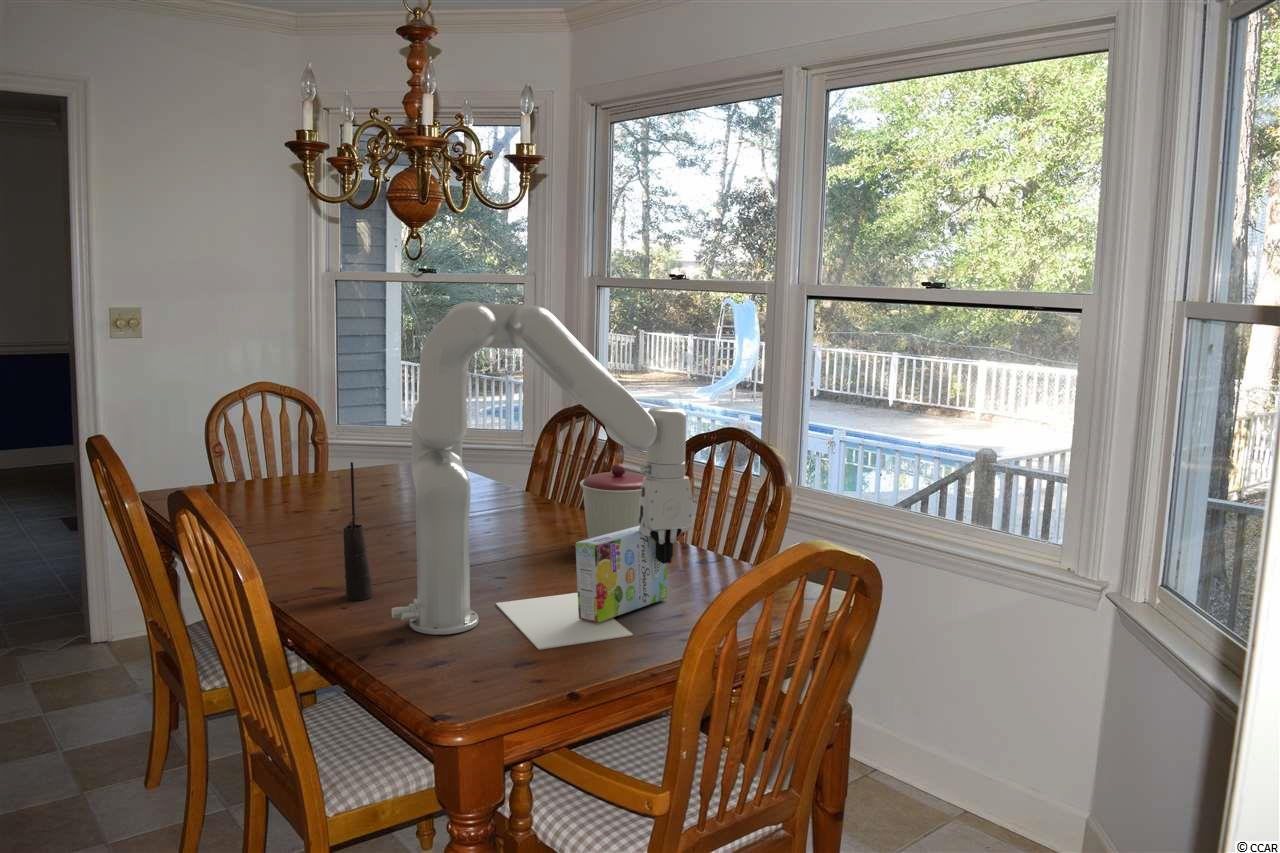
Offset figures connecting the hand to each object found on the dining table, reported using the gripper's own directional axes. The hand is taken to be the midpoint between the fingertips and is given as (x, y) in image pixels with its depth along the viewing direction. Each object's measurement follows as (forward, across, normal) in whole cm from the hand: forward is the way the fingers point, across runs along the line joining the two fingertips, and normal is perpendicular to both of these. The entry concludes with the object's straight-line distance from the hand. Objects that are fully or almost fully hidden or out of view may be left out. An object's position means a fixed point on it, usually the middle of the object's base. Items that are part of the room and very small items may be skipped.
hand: (664, 561), depth 196 cm
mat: (+9, -22, 0) cm, 23 cm away
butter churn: (+9, -54, +29) cm, 62 cm away
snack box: (+9, -8, 0) cm, 12 cm away
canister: (+9, +8, +40) cm, 42 cm away
